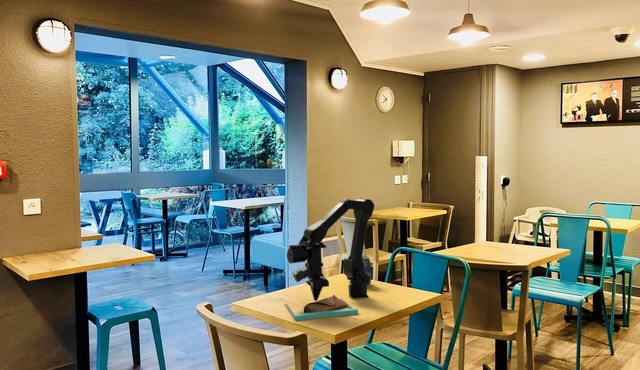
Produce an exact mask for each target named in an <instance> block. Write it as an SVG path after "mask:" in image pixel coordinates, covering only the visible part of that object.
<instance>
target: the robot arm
mask: <svg viewBox="0 0 640 370" xmlns="http://www.w3.org/2000/svg"><path fill="white" fill-rule="evenodd" d="M349 210H353V216H354V220H355V221H354V227H353V228H354V229H353V234H352V239H351V240H352V241H351V248H350V252H349V256H348V257H347V258H344V259H343V265H342V267H341V268H342V269H343V271H342V272H343V274H344V275H345V276H346V278H347V280H348V281H349V284H348V285H347V286H348V296H349V297H351V298H352V299H353V300H354V299H355V300H356V299H363V298H364V299H365V298H366V299H367V298H369V295H368V288H367V287H368V286H367V283H368V282H369V279H370V277H369V276H368V275H367V274H366V273H365V272H364V263H363V259H362V257H363V253H364V247H365V240H366V234H367V227H368V222H369V220H370V219H371V217H372V216H373V213H374V210H375V203H374V202H373V200H372V199H370V198H359V197H358V198H357V199H356V200H355V199H354V200H352V199H348V198H342V199H340V201H339V202H338V203H337V204H336V205H335V206H334V207H333V208H332V209H331V210H330V211H328V213H326V215H324V216H323V218H321V219H320V220H319V221H317V222H315V223H313V224H311V225H309V226H308V227H305V230H304V231H303V236H302V237H301V239H299V242H298V244H290V245H288V249H287V252H286V258H287V259H286V260H287V261H288V263H289V264H290V265H291V264H298V263H304V266H303V267H301V268H297V269H296V270H294V271H292V272H291V274H292V276H293V278H294V281H296V283H299V282H301V281H302V280H304V279H307V280H306V281H305V283H306V284H307V285H308V286H309V287H310V290H311V294H312V297H313V300H314V302H316V301H319V297H320V295H321V292H322V290H323V288H327V287H330V281H329V280H328V279H327V278H326V277H325V276H324V272H323V266H324V263H323V261H322V260H323V257H322V256H323V255H322V249H325V248H327V245H326V244H324V243H323V240H324V239H325V238H326V236H327V234H328V231H329V230H330V228H332V226H333V225H334V224H335V223H337V222H338V220H340V219H341V218H342V217H343V216H344V215H346V213H347V212H348V211H349Z"/></svg>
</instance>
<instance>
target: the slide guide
mask: <svg viewBox="0 0 640 370" xmlns="http://www.w3.org/2000/svg"><path fill="white" fill-rule="evenodd" d="M339 299H340V300H341V301H343V302H344V303H346V304H347V305H349V306H347V307H346V308H347V309H346V308H343V309H340V310H334V311H324V312H314V313H304V312H303V313H296V314H295V313H294V312H293V310H292V308H291V307H290V306H289V304H288V303H285V304H284V306H285V308H286V310H287V311H288V313H290V316H291V317H292V318H293V320H294V321H301V320H303V321H304V320H312V319H323V318H332V317H333V318H334V317H341V316H348V315H349V316H350V315H358V314H359V309H358V308H355V307H354V308H353V307H352V306H351V305H350V304H349V303H348V302H347V301H345V300H344V299H343V298H339Z"/></svg>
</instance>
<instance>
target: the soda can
mask: <svg viewBox="0 0 640 370" xmlns="http://www.w3.org/2000/svg"><path fill="white" fill-rule="evenodd" d="M362 259H363V263H364V272H365V273H366V274H367V275H368V276H369V277H370V279H369V282H368V283H367V287H368V286H370V284H371V283H372V273H371V272H372V271H371V270H372V269H371V259H370V257H369V256H362Z"/></svg>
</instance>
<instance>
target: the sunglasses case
mask: <svg viewBox="0 0 640 370" xmlns="http://www.w3.org/2000/svg"><path fill="white" fill-rule="evenodd" d="M340 299H341V298H338V297H337V296H336V295H335V294H333V295H331V296H329V297H326V298H322V299H318V300H317V301H314V302H313V301H312V302H308V303H307V304H305V306H304V307H303V314H304V313H314V312H324V311H334V310H343V309H346V308H348V307H347V306H349V305H350V304H348V303H347V302H346V303H347V304H348V305H347V304H346V303H344V302H343V301H341V300H340Z"/></svg>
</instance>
